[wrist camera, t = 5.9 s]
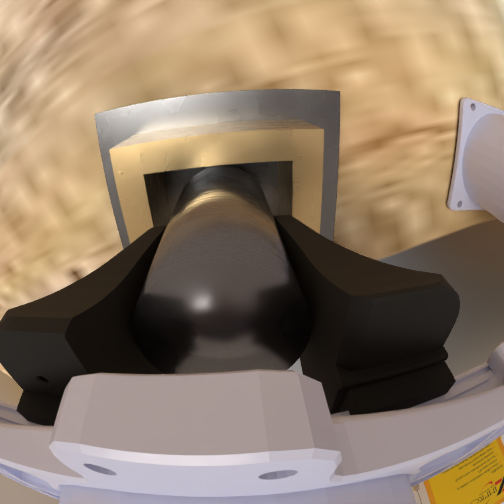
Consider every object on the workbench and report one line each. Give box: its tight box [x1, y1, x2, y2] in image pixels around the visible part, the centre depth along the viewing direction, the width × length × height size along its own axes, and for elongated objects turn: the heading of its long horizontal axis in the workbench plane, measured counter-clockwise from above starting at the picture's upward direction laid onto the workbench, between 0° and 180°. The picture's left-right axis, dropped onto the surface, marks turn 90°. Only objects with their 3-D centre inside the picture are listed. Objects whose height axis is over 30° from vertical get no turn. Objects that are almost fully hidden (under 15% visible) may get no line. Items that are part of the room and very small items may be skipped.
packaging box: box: [413, 436, 504, 504], centre depth 32 cm, size 16×16×25 cm
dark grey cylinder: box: [133, 166, 311, 374], centre depth 10 cm, size 4×4×8 cm
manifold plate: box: [95, 89, 340, 249], centre depth 16 cm, size 12×18×4 cm, turn 3°
